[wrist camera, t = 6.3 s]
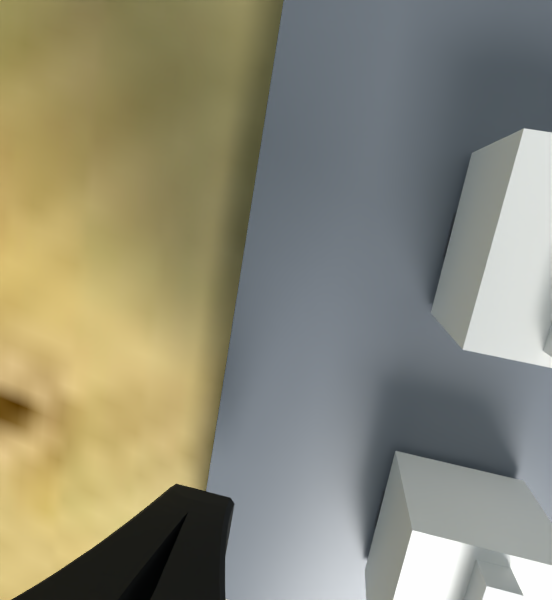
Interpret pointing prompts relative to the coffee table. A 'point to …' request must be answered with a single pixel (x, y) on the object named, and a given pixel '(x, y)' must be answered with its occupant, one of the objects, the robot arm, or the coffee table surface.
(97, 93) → the coffee table surface
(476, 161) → the middle tab
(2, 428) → the coffee table surface
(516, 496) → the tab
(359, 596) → the switch panel
